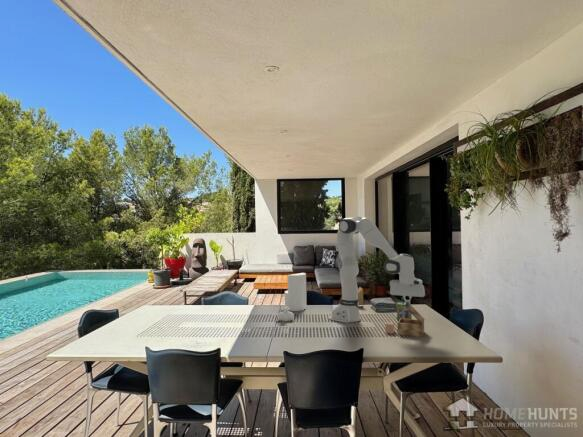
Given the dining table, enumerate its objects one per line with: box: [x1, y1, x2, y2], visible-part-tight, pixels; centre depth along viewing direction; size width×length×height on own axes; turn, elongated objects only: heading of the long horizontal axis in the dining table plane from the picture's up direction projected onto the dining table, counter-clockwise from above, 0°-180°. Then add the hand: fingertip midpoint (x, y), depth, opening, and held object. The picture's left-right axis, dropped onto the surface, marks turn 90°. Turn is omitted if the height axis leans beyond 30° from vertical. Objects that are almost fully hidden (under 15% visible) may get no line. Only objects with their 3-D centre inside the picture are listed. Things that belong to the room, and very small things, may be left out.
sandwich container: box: [358, 286, 364, 308], centre depth 278 cm, size 9×15×15 cm, turn 95°
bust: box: [276, 305, 295, 322], centre depth 236 cm, size 12×8×11 cm, turn 92°
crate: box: [397, 318, 425, 338], centre depth 207 cm, size 14×11×7 cm
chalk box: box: [395, 297, 413, 322], centre depth 235 cm, size 9×9×15 cm
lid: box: [405, 303, 426, 324], centre depth 206 cm, size 14×11×1 cm
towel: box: [369, 297, 397, 312], centre depth 267 cm, size 15×18×8 cm
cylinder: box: [284, 272, 308, 312], centre depth 272 cm, size 17×17×28 cm
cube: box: [384, 321, 395, 334], centre depth 209 cm, size 4×4×6 cm
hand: (407, 303), depth 208 cm, fingers closed
